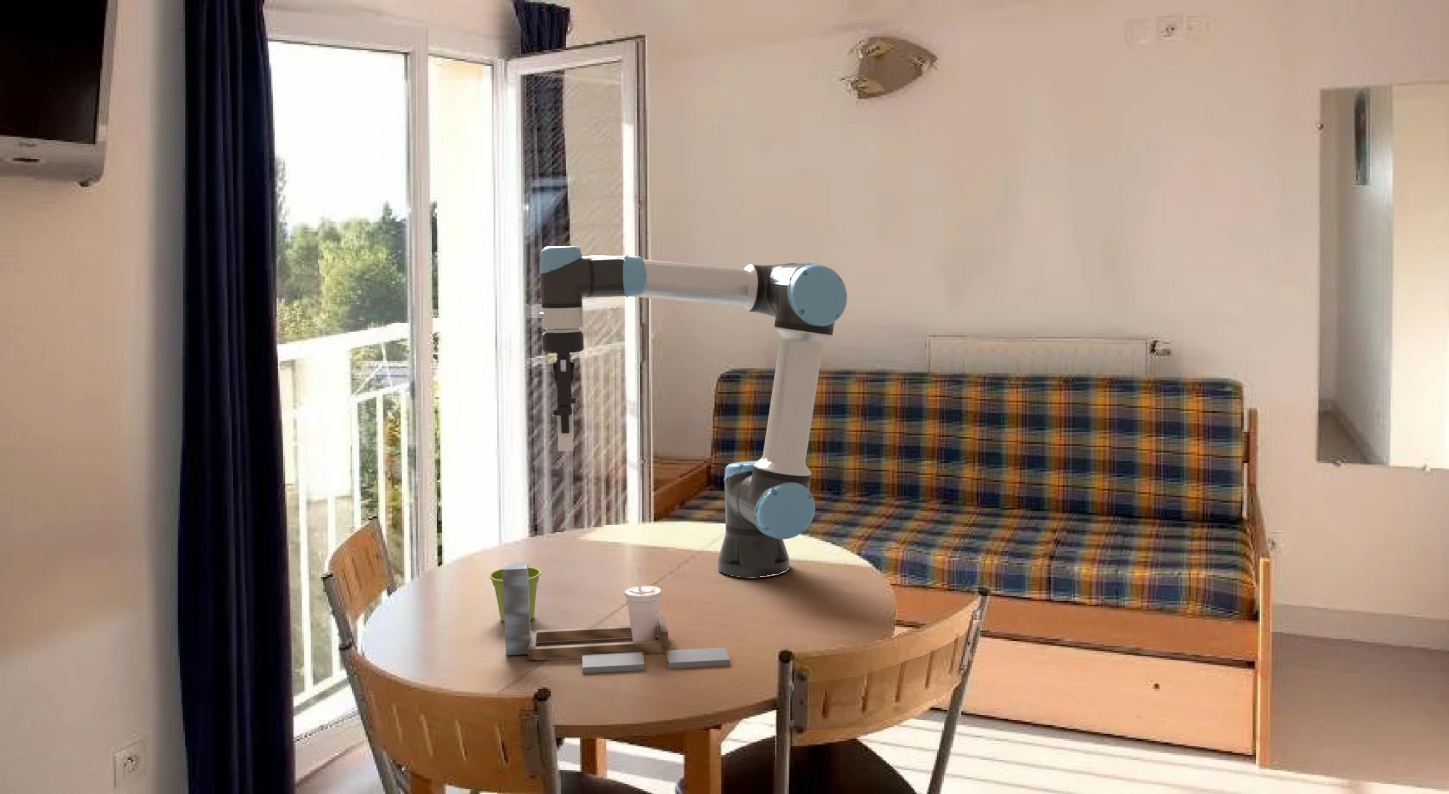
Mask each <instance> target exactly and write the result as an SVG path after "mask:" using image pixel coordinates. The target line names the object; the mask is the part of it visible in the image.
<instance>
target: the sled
mask: <svg viewBox="0 0 1449 794" xmlns="http://www.w3.org/2000/svg"><path fill="white" fill-rule="evenodd" d="M528 567H529V563H528V561H527V562H509V563H508V562H505V563H503V567H502V569H503V591H504V617H505V622H504V638H505V656H514V655H527V660H528V661H532V660H533V661H534V660H549V659H550V660H552V659H555V660H556V659H572V658H582V655H593V654H611V653H630V652H643V655H646V654H649V655H650V654H663V653H665V654H666V651H667V650H669V630H668V627H667V621H666V617H665V613H658V621H657V630H656V637H658V639H657V640H655V641H636V642H633V641H626V642H625V641H624V642H623V641H622V642H621V641H617V642H602V643H600V642H599V643H585V644H565V645H564V644H563V645H547V646H546V645H544V646H543V645H541V646H538V643H553V642H571V641H573V642H574V641H588V640H590V641H591V640H592V641H593V640H608V639H626V638H627V639H629V638H632V631H631V625H630V624H629V625H615V626H614V625H612V626H595V627H591V626H589V627H576V628H557V629H556V628H554V629H536V630H535V629H533V630H531V620H530V607H529V579H528ZM632 639H633V638H632Z"/></svg>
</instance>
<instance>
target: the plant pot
mask: <svg viewBox="0 0 1449 794" xmlns="http://www.w3.org/2000/svg"><path fill="white" fill-rule="evenodd" d="M540 576H542V571H541V570H540V569H539V568H536V567H533V566H532V567H531V566H528V579H529V607H530V621H531V620H533V619H534V617H535V611H536V610H535V609H536V598H537V590H538V589H537V587H538V583H539V579H540V578H539V577H540ZM488 578H489V580H491V583H492V586H493V587H494V591H495V595H496V596H495V597H496V601H497V606H498V612H499V617H500V620H501V621H502V622H504V623H505V617H504V591H503V568H499V569H497V570H494V571H492V572H490V573H489V575H488Z"/></svg>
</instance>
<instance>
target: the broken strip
mask: <svg viewBox="0 0 1449 794" xmlns="http://www.w3.org/2000/svg"><path fill="white" fill-rule="evenodd" d="M665 654H666V660H667V664H668V665H667V666H668V669H671V670H672V669H687V668H691V669H692V668H705V667H707V668H709V667H723V666H731V658H730V656H729V653H728V650H727V648H726V647H714V648H713V647H710V648H709V647H708V648H706V647H705V648H689V649H688V648H687V649H671V650H669V649H668V650H667V651H666V653H665ZM581 658H582V662H581V663H582V674H596V673H617V672H618V673H619V672H633V671H645V669H646V668H645V659H644V654H643V652H630V653H611V654H593V655H582V657H581Z"/></svg>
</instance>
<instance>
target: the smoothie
mask: <svg viewBox="0 0 1449 794" xmlns="http://www.w3.org/2000/svg"><path fill="white" fill-rule="evenodd" d="M662 596H663V593H662V588H660V587H657V586H652V585H642V566H641V565H637V586H633V587H632V586H631V587H629V588H626V590H624V598H625V600H626V604H627V610H628V615H629V616H628V618H629V626H630V625H631V631H632V642H636V641H656V639H657V636H656V630H657V621H658V614H659V609H660V599H661V598H662Z"/></svg>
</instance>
